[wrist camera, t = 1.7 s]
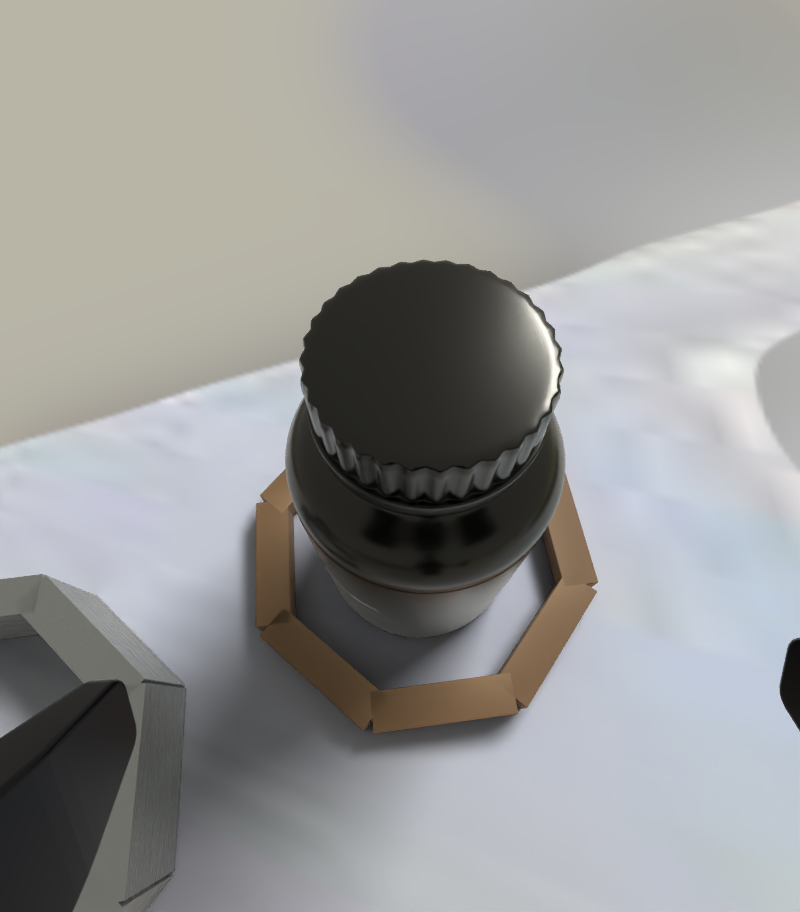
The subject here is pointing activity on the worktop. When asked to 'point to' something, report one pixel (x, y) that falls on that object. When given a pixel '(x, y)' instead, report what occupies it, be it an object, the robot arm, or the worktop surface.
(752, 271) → the worktop surface
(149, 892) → the hub socket
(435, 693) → the walnut ring
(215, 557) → the worktop surface
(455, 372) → the supplement bottle
